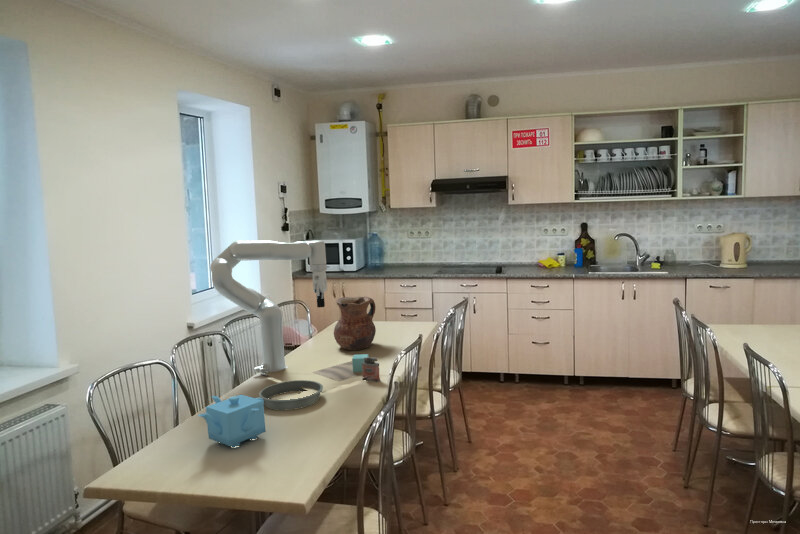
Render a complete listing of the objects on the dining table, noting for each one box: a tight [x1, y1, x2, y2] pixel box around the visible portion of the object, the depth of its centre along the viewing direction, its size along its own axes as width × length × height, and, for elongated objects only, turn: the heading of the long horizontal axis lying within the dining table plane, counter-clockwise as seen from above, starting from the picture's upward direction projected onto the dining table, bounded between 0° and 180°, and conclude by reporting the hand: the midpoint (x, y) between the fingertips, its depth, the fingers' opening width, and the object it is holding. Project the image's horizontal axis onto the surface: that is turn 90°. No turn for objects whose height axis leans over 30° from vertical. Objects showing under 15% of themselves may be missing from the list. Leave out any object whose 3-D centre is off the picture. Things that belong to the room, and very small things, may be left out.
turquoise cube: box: [351, 353, 370, 372], centre depth 268 cm, size 6×6×6 cm
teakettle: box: [197, 394, 267, 448], centre depth 201 cm, size 19×19×15 cm
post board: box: [312, 360, 363, 382], centre depth 268 cm, size 22×20×6 cm
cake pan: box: [258, 379, 324, 411], centre depth 238 cm, size 25×25×4 cm
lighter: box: [362, 356, 381, 383], centre depth 257 cm, size 8×3×10 cm, turn 62°
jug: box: [333, 296, 377, 351], centre depth 312 cm, size 22×21×25 cm
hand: (321, 306), depth 282 cm, fingers closed
